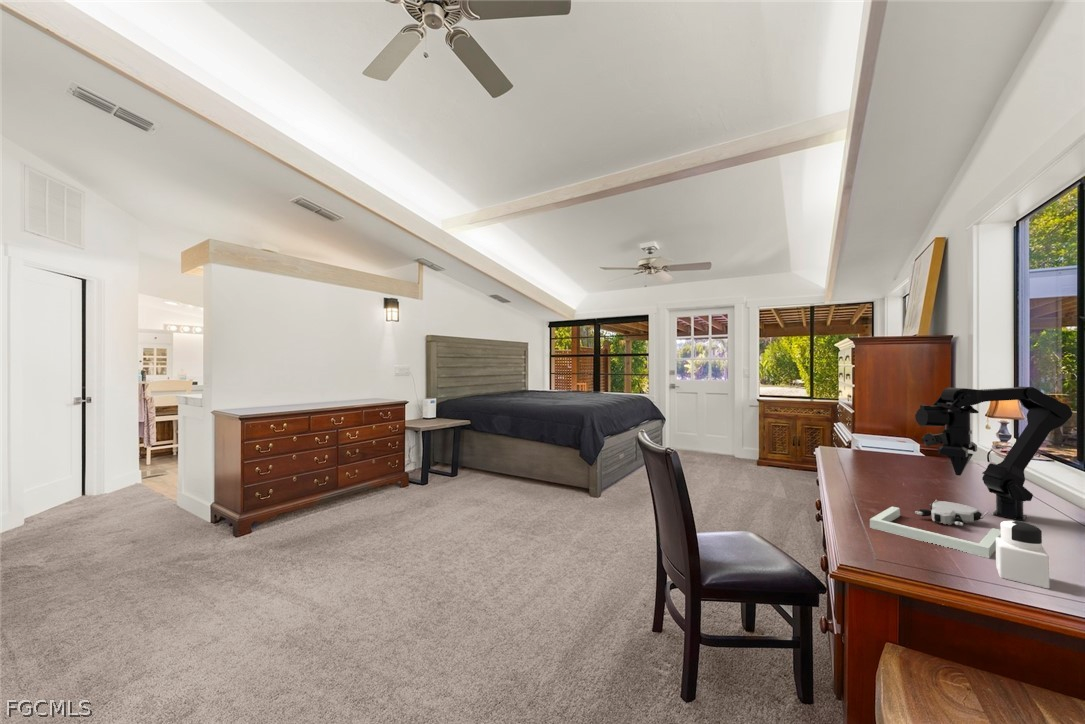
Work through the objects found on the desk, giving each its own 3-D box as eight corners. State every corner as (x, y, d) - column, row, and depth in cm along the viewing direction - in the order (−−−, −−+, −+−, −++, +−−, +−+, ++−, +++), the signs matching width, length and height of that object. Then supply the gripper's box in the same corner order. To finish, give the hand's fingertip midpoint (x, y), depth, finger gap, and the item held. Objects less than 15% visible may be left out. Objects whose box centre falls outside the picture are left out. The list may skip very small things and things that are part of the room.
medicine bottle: (1043, 577, 93) (1042, 523, 93) (1049, 589, 87) (1048, 532, 88) (995, 566, 98) (995, 515, 98) (999, 578, 92) (998, 523, 93)
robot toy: (964, 535, 118) (989, 523, 124) (963, 520, 118) (989, 508, 124) (911, 521, 129) (937, 511, 135) (911, 506, 129) (937, 497, 135)
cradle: (892, 514, 133) (891, 506, 133) (1003, 539, 113) (1003, 530, 113) (869, 527, 121) (869, 519, 121) (989, 558, 102) (988, 548, 102)
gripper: (931, 421, 146) (932, 466, 145) (916, 426, 135) (917, 474, 134) (977, 425, 136) (977, 472, 136) (965, 430, 126) (965, 482, 125)
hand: (958, 475), depth 133 cm, fingers closed
